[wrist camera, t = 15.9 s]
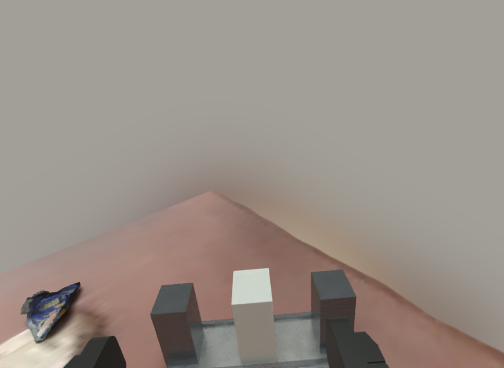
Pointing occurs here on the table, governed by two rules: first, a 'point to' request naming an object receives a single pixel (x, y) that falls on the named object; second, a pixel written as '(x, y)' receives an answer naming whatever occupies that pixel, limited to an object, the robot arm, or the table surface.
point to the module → (254, 316)
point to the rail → (224, 333)
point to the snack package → (47, 308)
